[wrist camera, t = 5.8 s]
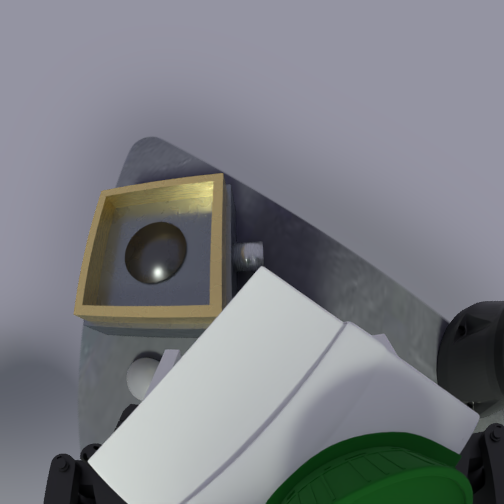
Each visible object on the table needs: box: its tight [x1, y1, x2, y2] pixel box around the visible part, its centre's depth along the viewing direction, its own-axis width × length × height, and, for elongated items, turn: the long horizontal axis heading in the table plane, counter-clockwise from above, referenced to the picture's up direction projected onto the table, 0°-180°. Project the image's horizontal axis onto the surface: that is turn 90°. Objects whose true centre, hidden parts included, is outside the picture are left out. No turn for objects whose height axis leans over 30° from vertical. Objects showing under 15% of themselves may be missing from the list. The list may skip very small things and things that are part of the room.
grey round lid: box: [127, 358, 160, 401], centre depth 26 cm, size 5×5×1 cm
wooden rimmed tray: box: [74, 173, 264, 338], centre depth 28 cm, size 19×16×8 cm
